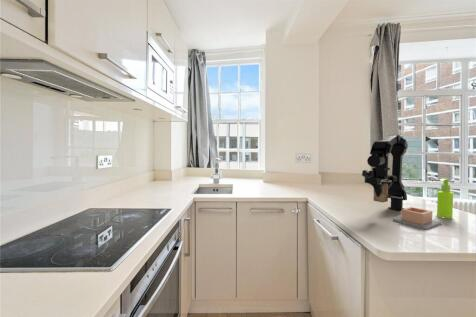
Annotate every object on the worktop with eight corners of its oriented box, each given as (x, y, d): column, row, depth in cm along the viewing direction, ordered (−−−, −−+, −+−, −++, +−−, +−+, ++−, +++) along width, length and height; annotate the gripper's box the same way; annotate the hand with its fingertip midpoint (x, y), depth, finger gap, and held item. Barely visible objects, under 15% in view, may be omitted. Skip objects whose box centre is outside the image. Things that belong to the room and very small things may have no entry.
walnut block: (378, 199, 118) (379, 182, 118) (387, 201, 114) (388, 183, 114) (373, 200, 116) (373, 183, 116) (382, 202, 112) (383, 184, 112)
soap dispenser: (433, 216, 118) (434, 178, 117) (440, 214, 121) (442, 177, 119) (447, 219, 113) (448, 180, 111) (454, 217, 115) (456, 179, 114)
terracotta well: (407, 216, 119) (408, 204, 119) (441, 224, 107) (441, 211, 106) (392, 220, 112) (393, 208, 112) (426, 229, 100) (427, 216, 100)
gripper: (376, 163, 126) (375, 191, 127) (354, 165, 117) (354, 195, 118) (398, 165, 116) (397, 195, 117) (376, 167, 107) (375, 199, 108)
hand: (380, 196), depth 115 cm, fingers closed on walnut block, 4 cm apart
